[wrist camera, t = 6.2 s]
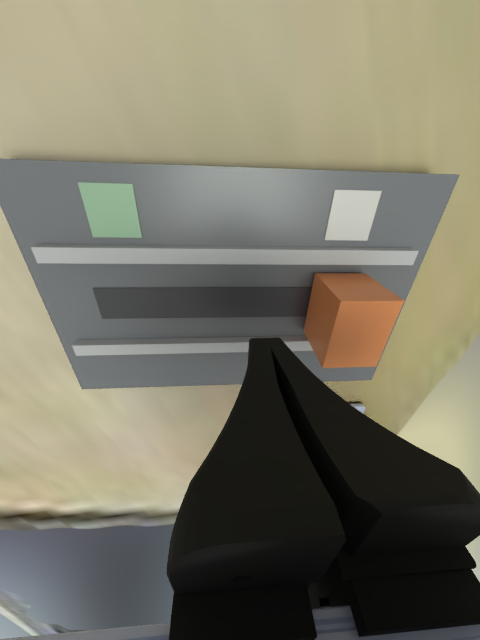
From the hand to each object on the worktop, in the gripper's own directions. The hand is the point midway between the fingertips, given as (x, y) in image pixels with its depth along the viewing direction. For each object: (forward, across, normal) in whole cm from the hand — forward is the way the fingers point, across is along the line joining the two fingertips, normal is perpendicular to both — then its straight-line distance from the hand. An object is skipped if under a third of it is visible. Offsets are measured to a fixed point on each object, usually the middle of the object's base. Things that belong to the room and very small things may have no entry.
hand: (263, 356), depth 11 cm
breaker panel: (+7, +1, 0) cm, 7 cm away
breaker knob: (+5, -5, 0) cm, 7 cm away
